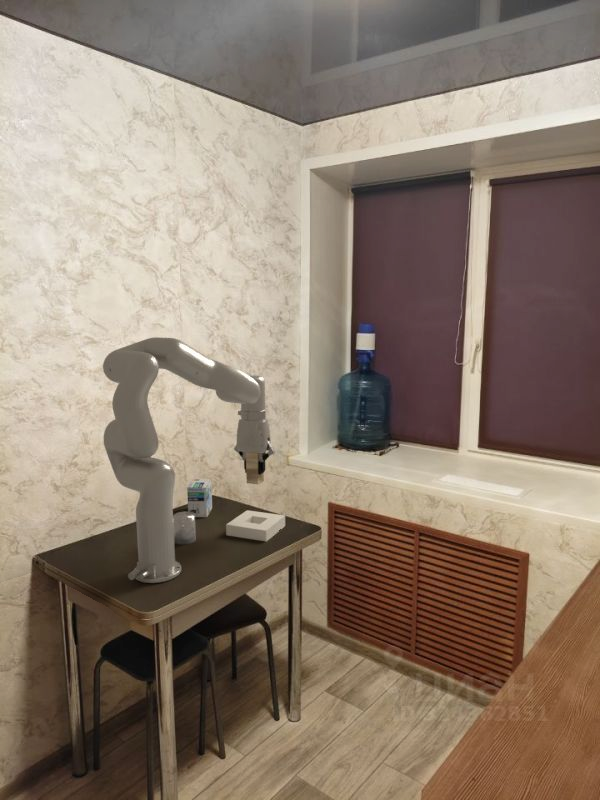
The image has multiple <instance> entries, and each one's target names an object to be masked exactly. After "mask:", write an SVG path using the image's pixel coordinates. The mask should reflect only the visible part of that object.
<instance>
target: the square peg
mask: <svg viewBox="0 0 600 800" xmlns="http://www.w3.org/2000/svg"><path fill="white" fill-rule="evenodd" d="M258 462H260V461H259V455H258V453H251V452H246V477H245V478H246V484H252V485H259V484H261V483H263V482H264V480H265V479H264V473H265V472H264V473H262V474H258Z"/></svg>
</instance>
